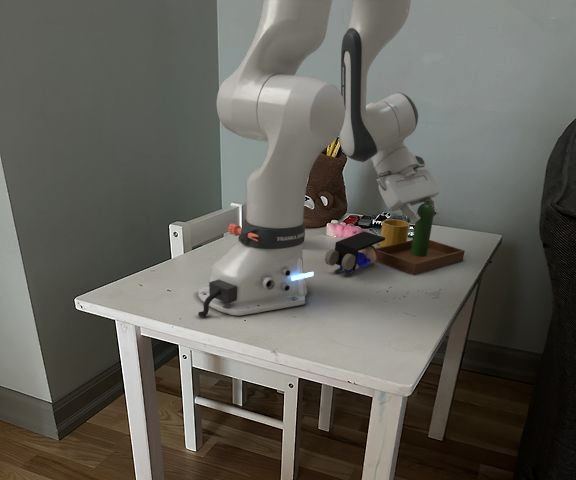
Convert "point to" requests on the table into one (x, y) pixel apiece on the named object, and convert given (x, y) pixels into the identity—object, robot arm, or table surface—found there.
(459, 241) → the table surface
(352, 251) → the figurine character
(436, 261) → the tray
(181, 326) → the table surface
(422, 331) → the table surface
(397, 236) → the cup
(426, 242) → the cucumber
